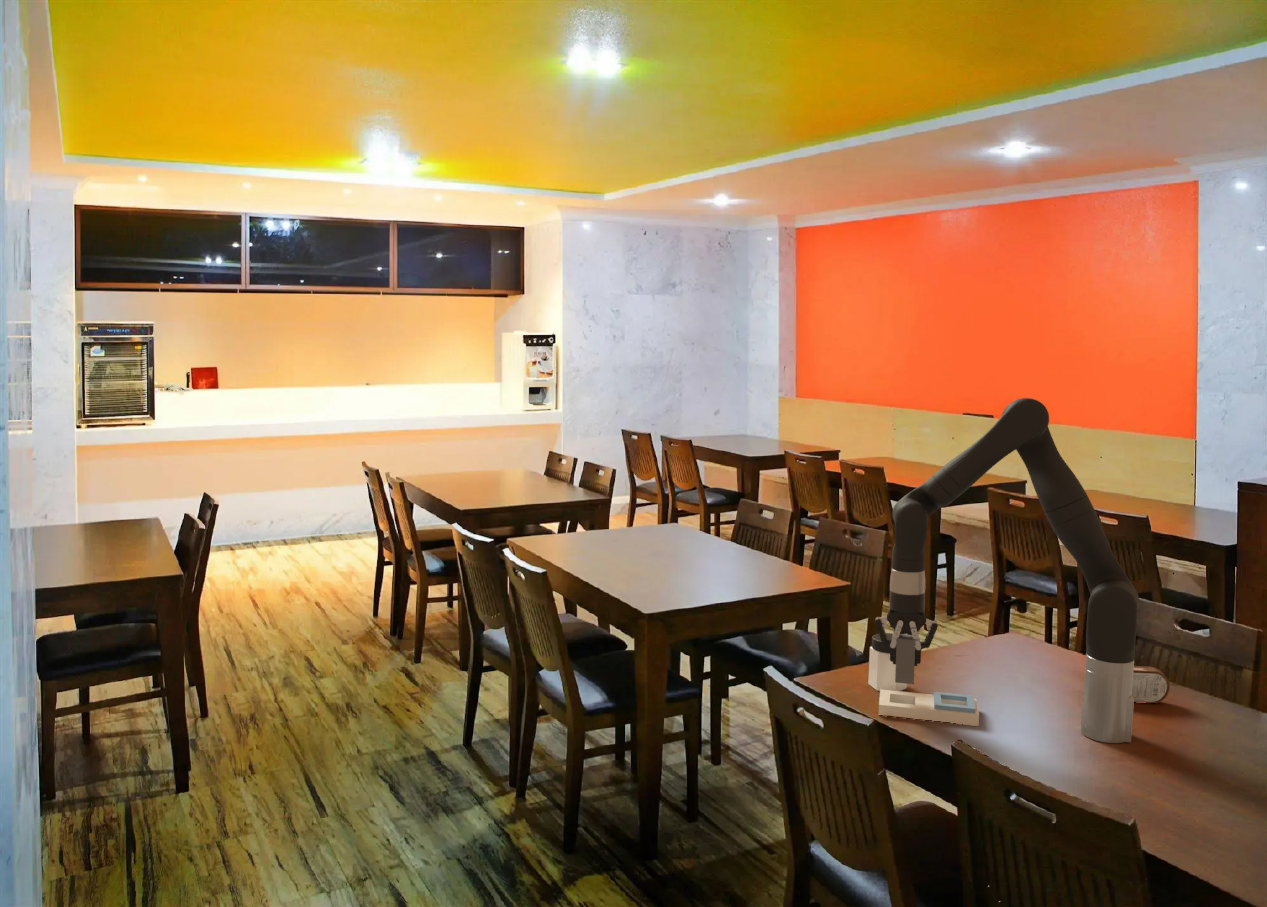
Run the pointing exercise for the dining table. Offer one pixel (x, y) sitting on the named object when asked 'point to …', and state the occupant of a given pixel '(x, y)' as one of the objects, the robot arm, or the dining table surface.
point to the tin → (1149, 685)
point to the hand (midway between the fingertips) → (904, 663)
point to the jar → (882, 667)
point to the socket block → (930, 706)
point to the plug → (905, 659)
